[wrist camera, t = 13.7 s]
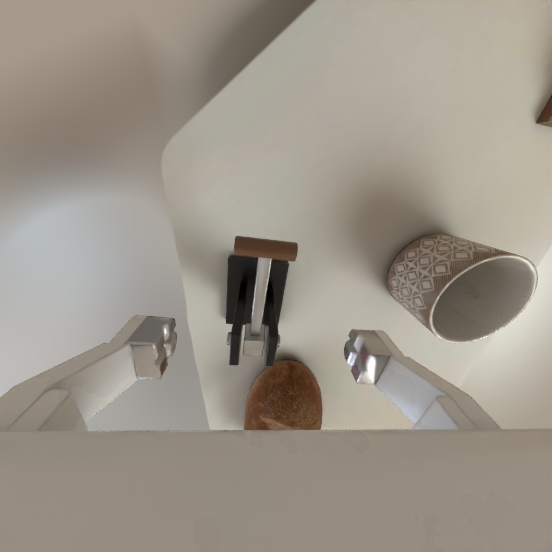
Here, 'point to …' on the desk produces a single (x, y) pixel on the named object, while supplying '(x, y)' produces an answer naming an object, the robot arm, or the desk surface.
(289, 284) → the desk surface
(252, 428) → the bread
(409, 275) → the planter
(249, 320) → the slicer
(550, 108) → the butter
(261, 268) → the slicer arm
